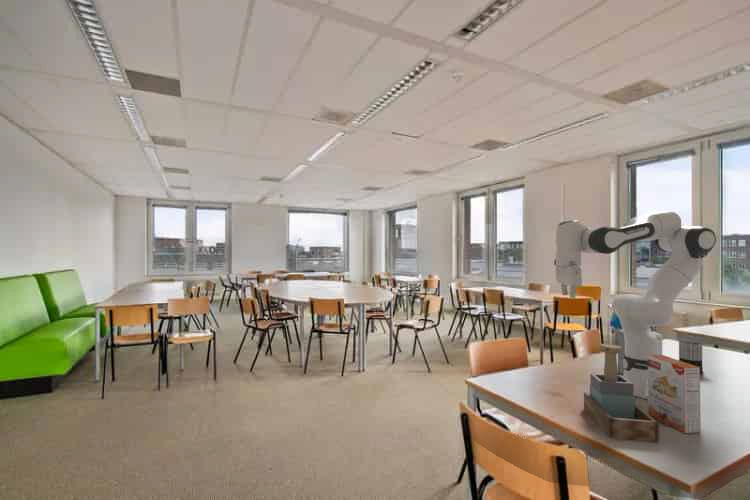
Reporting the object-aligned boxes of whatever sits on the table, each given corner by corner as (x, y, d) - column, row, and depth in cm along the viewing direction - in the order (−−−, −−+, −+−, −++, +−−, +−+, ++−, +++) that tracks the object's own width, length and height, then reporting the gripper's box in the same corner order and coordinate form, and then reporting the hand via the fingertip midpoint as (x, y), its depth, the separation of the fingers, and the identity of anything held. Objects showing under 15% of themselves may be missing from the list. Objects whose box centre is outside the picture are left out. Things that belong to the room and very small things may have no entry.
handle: (618, 394, 123) (618, 349, 123) (597, 388, 128) (597, 345, 128) (624, 391, 126) (623, 346, 126) (603, 385, 131) (603, 343, 131)
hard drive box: (623, 376, 169) (623, 332, 170) (617, 371, 177) (616, 329, 177) (663, 379, 166) (662, 334, 166) (654, 373, 173) (654, 330, 173)
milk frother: (709, 374, 172) (708, 342, 172) (673, 374, 173) (673, 342, 173) (685, 365, 186) (684, 335, 186) (652, 364, 187) (652, 335, 187)
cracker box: (646, 414, 129) (646, 354, 129) (663, 414, 129) (662, 354, 130) (683, 434, 115) (683, 366, 115) (701, 433, 115) (701, 366, 116)
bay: (624, 411, 131) (623, 394, 131) (658, 443, 110) (658, 422, 110) (584, 408, 134) (583, 392, 134) (610, 438, 112) (609, 418, 112)
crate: (620, 408, 130) (620, 374, 130) (634, 421, 121) (634, 384, 121) (589, 406, 132) (589, 372, 132) (601, 418, 122) (600, 382, 123)
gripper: (586, 261, 135) (586, 299, 135) (569, 260, 156) (569, 293, 155) (568, 261, 137) (568, 299, 137) (552, 260, 157) (552, 293, 157)
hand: (568, 296), depth 146 cm, fingers open, 8 cm apart
